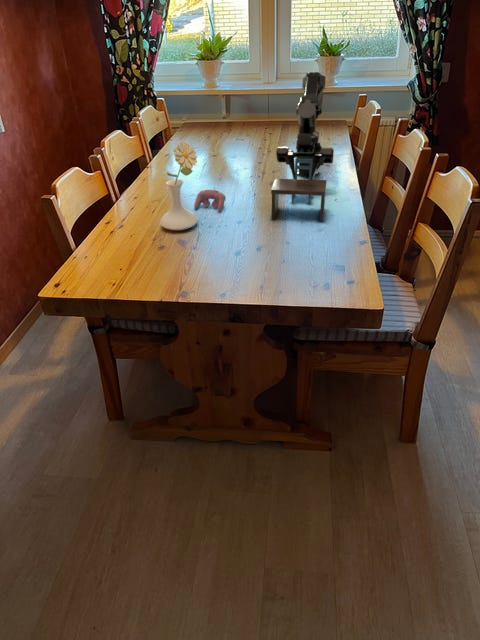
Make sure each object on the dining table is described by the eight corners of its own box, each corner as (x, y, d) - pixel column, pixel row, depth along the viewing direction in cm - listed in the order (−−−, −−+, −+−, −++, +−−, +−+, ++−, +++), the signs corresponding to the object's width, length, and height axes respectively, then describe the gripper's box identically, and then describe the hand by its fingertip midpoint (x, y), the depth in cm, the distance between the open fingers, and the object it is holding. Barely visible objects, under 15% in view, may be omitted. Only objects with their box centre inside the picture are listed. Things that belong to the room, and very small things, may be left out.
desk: (275, 208, 162) (275, 178, 156) (324, 210, 159) (326, 180, 154) (271, 220, 154) (271, 189, 148) (323, 222, 151) (325, 191, 146)
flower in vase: (168, 237, 146) (158, 151, 132) (155, 223, 155) (144, 141, 141) (208, 227, 151) (202, 143, 137) (194, 214, 159) (187, 134, 145)
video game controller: (225, 213, 164) (227, 191, 162) (220, 212, 159) (223, 189, 158) (197, 210, 166) (200, 189, 165) (192, 209, 162) (194, 187, 161)
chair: (293, 196, 170) (294, 158, 162) (311, 197, 169) (313, 158, 161) (291, 203, 165) (292, 164, 157) (310, 204, 163) (312, 165, 156)
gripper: (277, 121, 160) (272, 166, 158) (335, 122, 157) (332, 167, 155) (279, 140, 171) (275, 182, 169) (334, 141, 168) (331, 183, 165)
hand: (302, 178), depth 164 cm, fingers closed on chair, 5 cm apart
